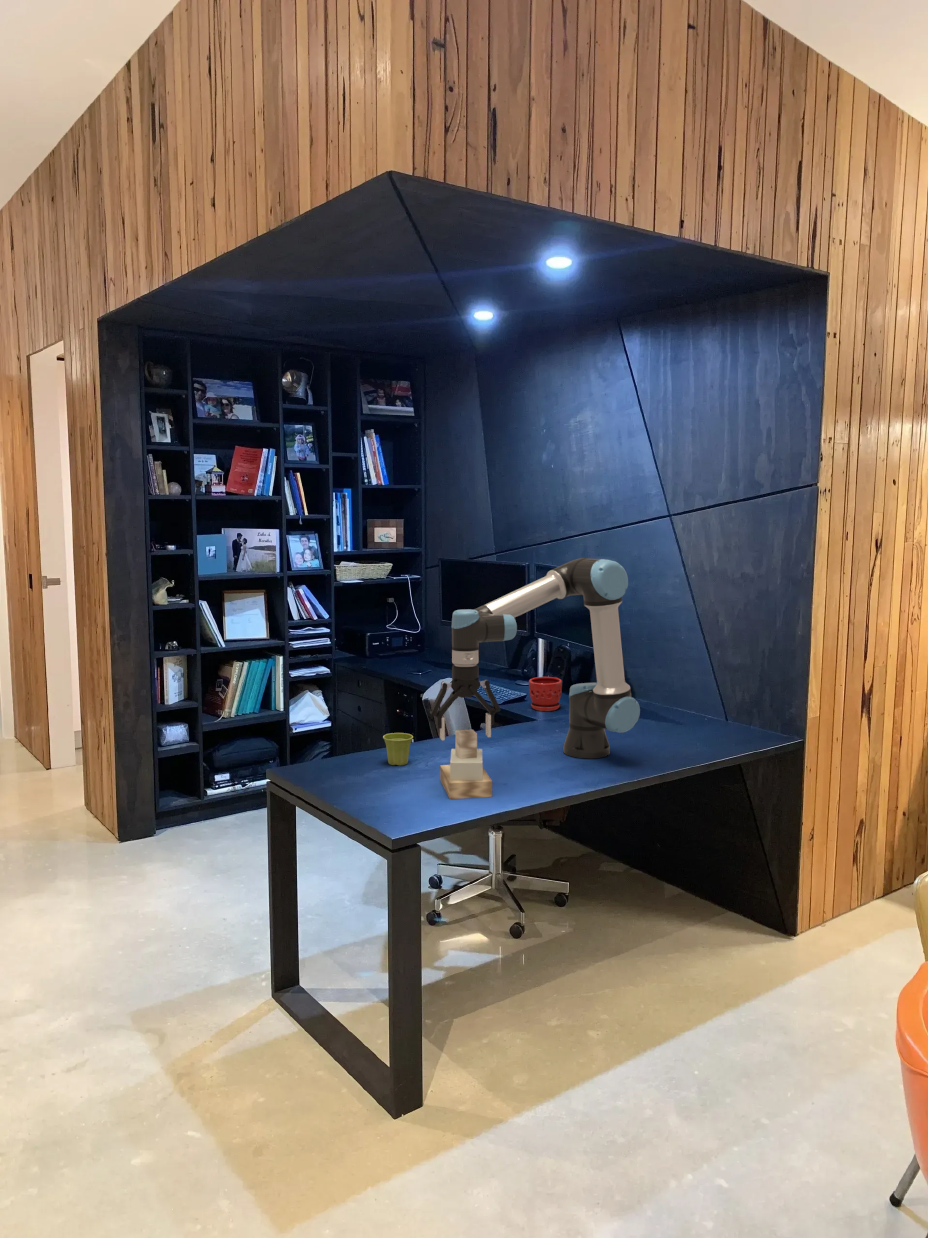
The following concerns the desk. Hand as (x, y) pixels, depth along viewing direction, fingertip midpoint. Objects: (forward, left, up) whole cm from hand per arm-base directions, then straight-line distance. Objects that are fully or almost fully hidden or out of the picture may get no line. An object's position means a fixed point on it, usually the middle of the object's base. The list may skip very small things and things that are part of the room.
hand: (465, 737), depth 261 cm
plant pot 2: (-57, -91, -15) cm, 108 cm away
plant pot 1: (+14, -30, -15) cm, 36 cm away
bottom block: (0, 0, -15) cm, 15 cm away
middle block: (0, 0, -10) cm, 10 cm away
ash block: (0, 0, -5) cm, 5 cm away
